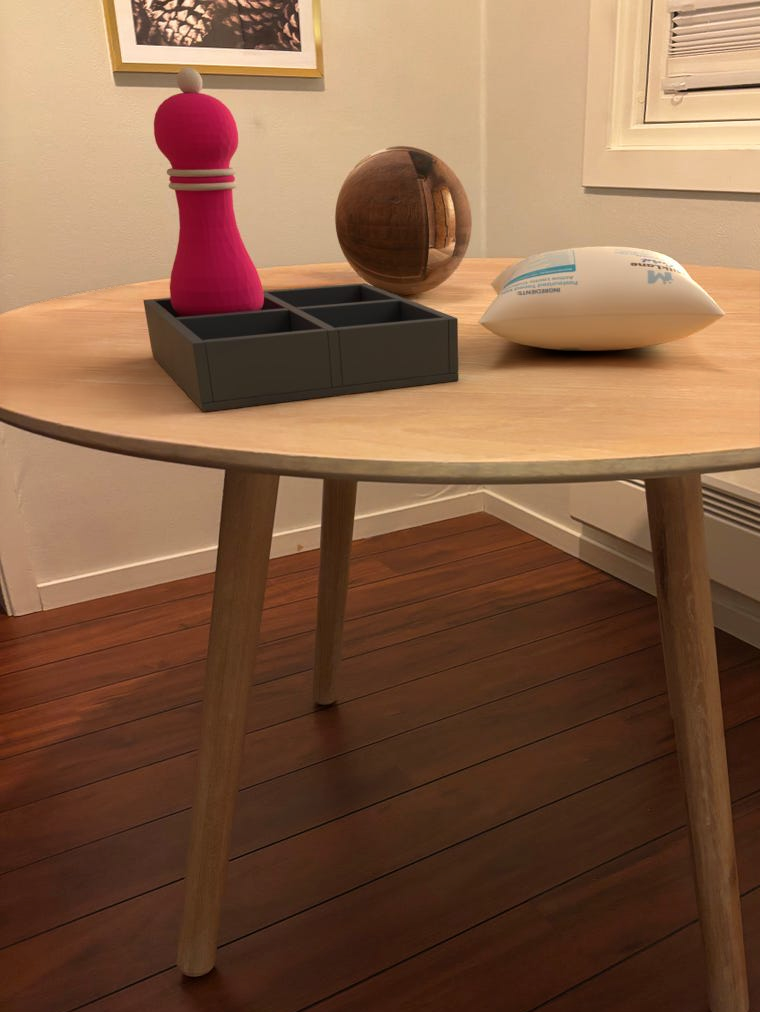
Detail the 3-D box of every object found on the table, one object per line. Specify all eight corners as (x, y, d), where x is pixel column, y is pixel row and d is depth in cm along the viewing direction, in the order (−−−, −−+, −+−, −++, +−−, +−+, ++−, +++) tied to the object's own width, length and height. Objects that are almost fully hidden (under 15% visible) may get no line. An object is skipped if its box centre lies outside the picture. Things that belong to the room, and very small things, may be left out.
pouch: (491, 236, 89) (479, 254, 71) (694, 242, 89) (733, 263, 71) (488, 323, 93) (476, 361, 75) (684, 330, 92) (718, 371, 74)
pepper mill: (160, 354, 77) (113, 66, 67) (228, 339, 82) (193, 70, 72) (221, 366, 73) (181, 63, 63) (288, 349, 78) (260, 67, 69)
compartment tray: (202, 412, 64) (192, 343, 62) (152, 356, 80) (143, 299, 77) (458, 380, 72) (458, 318, 70) (368, 335, 87) (365, 283, 85)
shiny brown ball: (330, 287, 112) (319, 145, 105) (451, 281, 116) (449, 144, 109) (354, 308, 100) (343, 148, 93) (489, 300, 104) (489, 147, 96)
